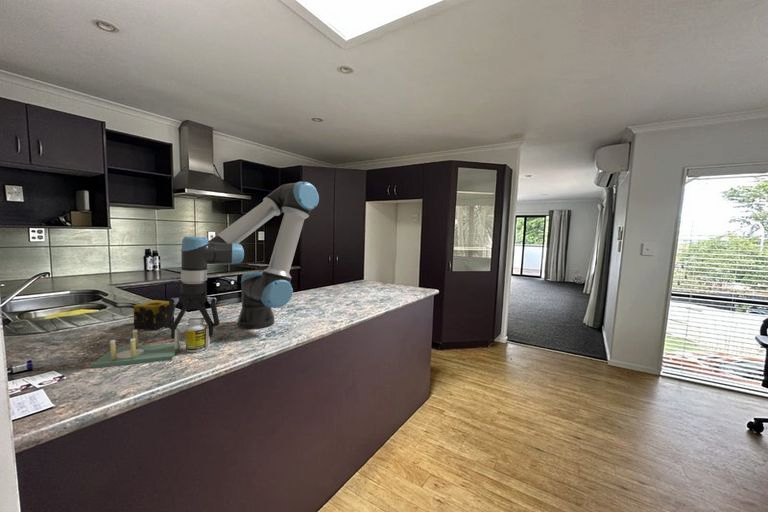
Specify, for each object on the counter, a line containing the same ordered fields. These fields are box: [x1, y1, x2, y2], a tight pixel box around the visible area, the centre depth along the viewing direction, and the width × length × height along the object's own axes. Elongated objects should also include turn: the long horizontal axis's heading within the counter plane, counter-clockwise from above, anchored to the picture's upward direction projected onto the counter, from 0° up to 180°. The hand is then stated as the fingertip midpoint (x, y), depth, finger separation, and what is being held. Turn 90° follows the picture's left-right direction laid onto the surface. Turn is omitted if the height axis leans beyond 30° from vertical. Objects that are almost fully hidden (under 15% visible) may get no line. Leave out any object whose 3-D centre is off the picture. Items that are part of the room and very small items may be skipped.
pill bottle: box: [184, 316, 207, 354], centre depth 106 cm, size 6×6×11 cm
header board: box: [91, 329, 183, 369], centre depth 100 cm, size 20×12×7 cm, turn 111°
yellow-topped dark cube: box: [132, 299, 175, 331], centre depth 129 cm, size 10×10×10 cm
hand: (192, 346), depth 106 cm, fingers open, 8 cm apart
